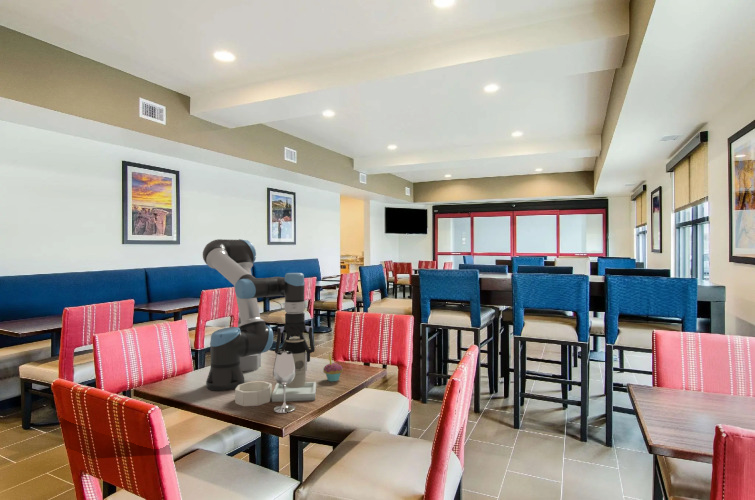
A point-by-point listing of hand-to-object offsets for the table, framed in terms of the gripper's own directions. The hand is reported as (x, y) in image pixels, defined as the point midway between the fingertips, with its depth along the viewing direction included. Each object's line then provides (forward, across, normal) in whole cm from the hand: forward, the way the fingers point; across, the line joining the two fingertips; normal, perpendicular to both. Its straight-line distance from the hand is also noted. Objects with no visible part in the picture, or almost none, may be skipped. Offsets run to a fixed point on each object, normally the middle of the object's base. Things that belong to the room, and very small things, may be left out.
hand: (295, 370), depth 163 cm
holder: (+9, -15, -4) cm, 18 cm away
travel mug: (+6, 0, 0) cm, 6 cm away
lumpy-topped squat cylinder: (+10, -27, +41) cm, 50 cm away
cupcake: (+10, +15, +17) cm, 25 cm away
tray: (+9, 0, 0) cm, 9 cm away
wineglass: (+10, -2, -15) cm, 18 cm away
